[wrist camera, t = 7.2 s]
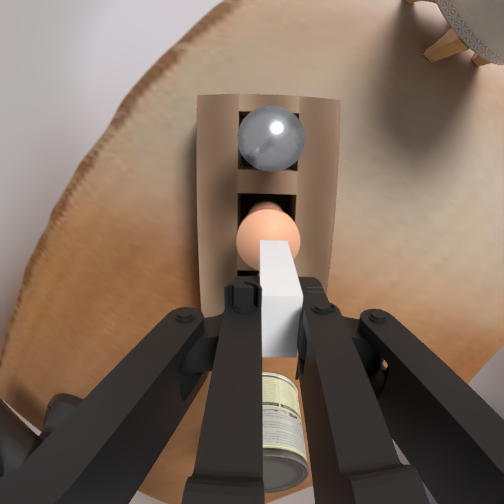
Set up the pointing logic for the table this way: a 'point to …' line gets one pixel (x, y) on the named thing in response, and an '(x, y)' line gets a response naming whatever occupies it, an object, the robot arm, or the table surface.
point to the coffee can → (282, 435)
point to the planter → (470, 30)
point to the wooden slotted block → (262, 187)
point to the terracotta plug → (265, 231)
